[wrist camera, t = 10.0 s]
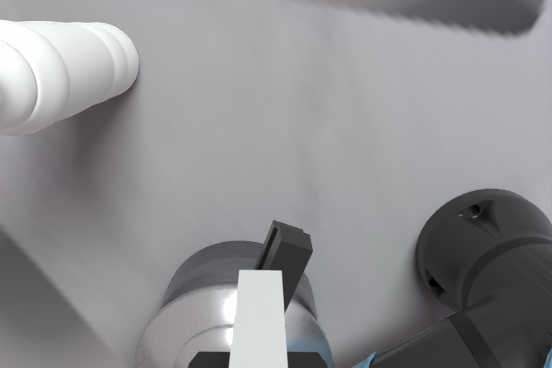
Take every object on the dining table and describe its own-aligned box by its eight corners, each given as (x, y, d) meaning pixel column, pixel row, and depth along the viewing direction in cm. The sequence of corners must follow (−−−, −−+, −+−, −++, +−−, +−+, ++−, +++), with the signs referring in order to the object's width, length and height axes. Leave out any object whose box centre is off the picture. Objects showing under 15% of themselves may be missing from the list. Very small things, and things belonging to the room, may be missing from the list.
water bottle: (151, 43, 44) (17, 63, 20) (126, 107, 46) (-23, 192, 22) (82, 9, 42) (-147, -14, 19) (59, 76, 44) (-173, 131, 21)
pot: (280, 392, 59) (283, 462, 49) (143, 355, 56) (119, 421, 47) (360, 221, 51) (382, 265, 41) (205, 168, 48) (190, 203, 39)
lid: (283, 472, 49) (285, 509, 46) (110, 428, 47) (97, 464, 43) (393, 260, 41) (406, 284, 37) (188, 192, 38) (179, 210, 34)
